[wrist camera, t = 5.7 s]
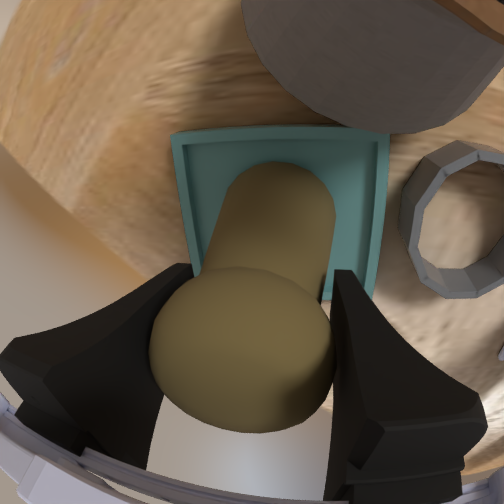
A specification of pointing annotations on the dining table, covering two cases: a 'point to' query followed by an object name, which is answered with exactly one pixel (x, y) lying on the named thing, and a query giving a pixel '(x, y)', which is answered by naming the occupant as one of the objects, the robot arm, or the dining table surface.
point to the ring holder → (411, 215)
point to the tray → (299, 153)
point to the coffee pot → (380, 57)
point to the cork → (254, 309)
